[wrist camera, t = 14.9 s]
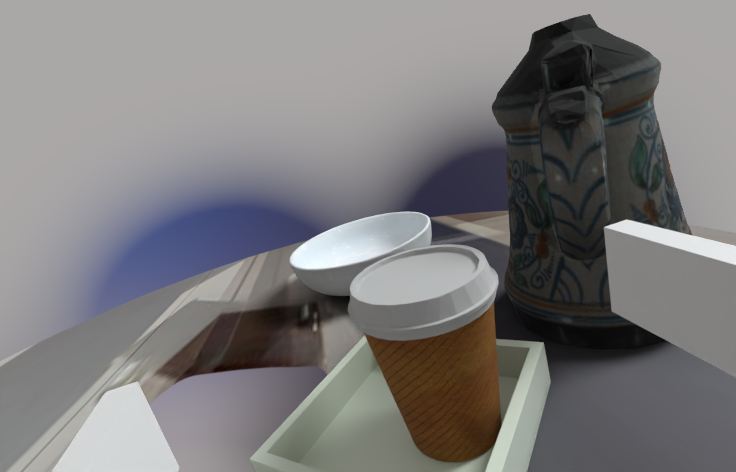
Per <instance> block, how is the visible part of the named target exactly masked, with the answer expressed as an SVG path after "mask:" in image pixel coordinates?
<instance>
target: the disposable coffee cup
mask: <svg viewBox="0 0 736 472" xmlns="http://www.w3.org/2000/svg"><path fill="white" fill-rule="evenodd" d="M498 284H499V283H498V275H497V273H496V272H495V270H494V269H493V268H491V267H490V266H489V264H488V262H487V260H486V258H485V256H484V254H482V253H481V252H480V251H479V250H477V249H474V248H472V247H468V246H463V245H434V246H426V247H420V248H415V249H411V250H407V251H404V252H400V253H397V254H395V255H392V256H390V257H387V258H384V259H382V260H380V261H378V262H376V263H374V264H372V265H370V266H369V267H367V268H365V269H364V270H363V271H362V272H360V273H359V274H358V275H357V276H356V277H355V278H354V279H353V281H352V283H351V286H350V302H349V304H348V313H349V315H350V317H351V319H352V321H353V322H354V323H356V324H357V326H358V327H359V329H360V330H362V331H363V332H364V334H365V337H366V339H367V341H368V343H369V346H370V348H371V350H372V351H373V355H374V356H375V358H376V361H377V363H378V365H379V367H380V369H381V371H382V374H383V377H384V378H385V380H386V382H387V385H388V387H389V389H390V392H391V393H392V395H393V397H394V400H395V402H396V404H397V407H398V409H399V411H400V413H401V415H402V417H403V418H404V419H403V420H404V422H405V424H406V425H407V428H408V430H409V432H410V435H411V437H412V439H413V442H414V444H415V445H416V447H417V448H418V449H419V450H420V451H421V452H422V453H423V454H424V455H426V456H428V457H430V458H432V459H435V460H438V461H442V462H462V461H467V460H471V459H474V458H476V457H478V456H480V455H482V454H484V453H485V452H487V451H488V450H489V449H490V448H492V446H493V445H494V444H495V443H496V440H497V438H498V435H499V432H500V429H501V427H502V422H501V410H500V395H499V377H498V363H497V347H496V331H495V316H494V299H495V296H496V290H497V287H498Z"/></svg>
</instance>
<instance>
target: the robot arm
mask: <svg viewBox="0 0 736 472" xmlns="http://www.w3.org/2000/svg"><path fill="white" fill-rule="evenodd" d="M604 235H605V246H606V256H607V267H608V277H609V288H610V299H611V309H612V312H614V313H616V314H618V315H620V316H621V317H623V318H625V319H627V320H629V321H631V322H633V323H635V324H636V325H638V326H640V327H642V328H644V329H646V330H648V331H650V332H651V333H653V334H655V335H657V336H659V337H661V338H663V339H665V340H666V341H668V342H670V343H672V344H674V345H676V346H678V347H679V348H681V349H683V350H685V351H687V352H689V353H691V354H693V355H694V356H696V357H698V358H700V359H702V360H704V361H706V362H708V363H709V364H711V365H713V366H715V367H717V368H719V369H721V370H723V371H724V372H726V373H728V374H730V375H732V376H734V377H736V246H733V245H729V244H725V243H720V242H716V241H712V240H708V239H704V238H700V237H696V236H692V235H688V234H684V233H680V232H676V231H672V230H668V229H664V228H660V227H655V226H651V225H647V224H643V223H639V222H635V221H631V220H624V221H621V222H618V223H615V224H612V225H609V226H606V227H604ZM178 471H179V466H178V464H177V462H176V460H175V457H174V455H173V454H172V451H171V449H170V447H169V445H168V443H167V441H166V439H165V437H164V435H163V433H162V431H161V429H160V427H159V425H158V422H157V421H156V419H155V416H154V414H153V412H152V410H151V408H150V406H149V404H148V402H147V400H146V398H145V396H144V394H143V392H142V390H141V388H140V385H139V383H138V382H135V383H131V384H128V385H125V386H122V387H119V388H116V389H113V390H110V391H107V392H105V394H104V395H103V397H102V398H101V400H100V401H99V402H98V404H97V405H96V407H95V408H94V410H93V411H92V413H91V414H90V416H89V417H88V419H87V420H86V422H85V423H84V425H83V426H82V428H81V429H80V431H79V432H78V434H77V435H76V437H75V438H74V440H73V441H72V442H71V444H70V445H69V447H68V448H67V450H66V451H65V453H64V454H63V456H62V457H61V459H60V460H59V462H58V463H57V465H56V466H55V468H54V469H53V471H52V472H178Z"/></svg>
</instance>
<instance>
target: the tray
mask: <svg viewBox="0 0 736 472" xmlns="http://www.w3.org/2000/svg"><path fill="white" fill-rule="evenodd" d="M496 347H497V363H498V377H499V395H500V410H501V422H502V427H501V429H500V432H499V435H498V438H497V440H496V443H495V444H494V445H493V446H492V448H490V449H489V450H488V451H487V452H485V453H484V454H482V455H480V456H478V457H476V458H474V459H471V460H467V461H462V462H442V461H438V460H435V459H432V458H430V457H428V456H426V455H424V454H423V453H422V452H421V451H420V450H419V449H418V448H417V447H416V445H415V444H414V442H413V439H412V437H411V435H410V432H409V430H408V428H407V425H406V424H405V422H404V420H403V419H404V418H403V417H402V415H401V413H400V411H399V409H398V407H397V404H396V402H395V400H394V397H393V395H392V393H391V392H390V389H389V387H388V385H387V382H386V380H385V378H384V377H383V374H382V371H381V369H380V367H379V365H378V363H377V361H376V358H375V356H374V355H373V351H372V350H371V348H370V346H369V343H368V341H367V339H366V337H365V336H364V337H363V338H362V339H361V340H360V341H359V342H358V343H357V344H356V345H355V346H354V347H353V348H352V350H351V351H350V352H349V353H348V354H347V355H346V356H345V357H344V358H343V359H342V360H341V361H340V362H339V363H338V365H337V366H336V367H335V368H334V369H333V370H332V371H331V372H330V373H329V374H328V375H327V376H326V377H325V378H324V380H323V381H322V382H321V383H320V384H319V385H318V386H317V387H316V388H315V389H314V390H313V391H312V392H311V394H310V395H309V396H308V397H307V398H306V399H305V400H304V401H303V402H302V403H301V404H300V405H299V406H298V408H297V409H296V410H295V411H294V412H293V413H292V414H291V415H290V416H289V417H288V418H287V419H286V420H285V421H284V423H283V424H282V425H281V426H280V427H279V428H278V429H277V430H276V431H275V432H274V433H273V434H272V435H271V436H270V437H269V439H268V440H267V441H266V442H265V443H264V444H263V445H262V446H261V447H260V448H259V449H258V450H257V451H256V453H255V454H254V455H253V456H252V457H251V458H250V461H251V463H252V466H253V468H254V470H255V472H527V470H528V466H529V462H530V458H531V455H532V451H533V447H534V443H535V439H536V436H537V432H538V428H539V424H540V421H541V417H542V413H543V409H544V406H545V402H546V398H547V394H548V391H549V387H550V383H551V381H550V375H549V369H548V364H547V358H546V353H545V347H544V342H532V341H518V340H504V339H496Z"/></svg>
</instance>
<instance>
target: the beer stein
mask: <svg viewBox="0 0 736 472" xmlns="http://www.w3.org/2000/svg"><path fill="white" fill-rule="evenodd" d="M660 70H661V63H660V62H659V60H658V59H656V58H655V57H654V56H653V55H652V54H650V52H648V51H646V50H645V49H643V48H641V47H639V46H638V45H636V44H633V43H631V42H628V41H626V40H624V39H621V38H618V37H616V36H614V35H612V34H610V33H608V32H606V31H604V30H602V29H601V28H599V27H598V26H597V25H596V23H595V21H594V20H593V18H592V17H591V15H590V14H588V15H583V16H579V17H575V18H571V19H568V20H565V21H562V22H559V23H556V24H553V25H550V26H547V27H545V28H543V29H540V30H538V31H536V32H534V33H533V34H532V39H531V43H530V47H529V51H528V52H527V54H526V55H525V56H524V58H523V59H522V61H521V62H520V63H519V65H518V66H517V67H516V69H515V70H514V71H513V73H512V74H511V76H510V77H509V78H508V80H507V81H506V83H505V84H504V85H503V87H502V88H501V89H500V91H499V92H498V94H497V97H496V100H495V101H494V103H493V105H492V111H493V114H494V116H495V118H496V120H497V122H498V124H499V125H500V126H501V127H502V128H503V129H504V130H505V134H506V140H507V179H508V206H509V225H510V257H509V263H508V267H507V271H506V273H505V280H504V284H505V290H506V293H507V295H508V297H509V299H510V300H511V302H512V304H513V306H514V309H515V313H516V316H517V317H518V318H519V320H520V321H521V322H522V323H523V324H524V326H525V327H526V328H527V329H528V330H530V331H532V332H534V333H536V334H538V335H540V336H542V337H544V338H546V339H548V340H550V341H552V342H556V343H562V344H568V345H574V346H580V347H587V348H593V349H616V348H635V347H640V346H644V345H649V344H653V343H658V342H662V341H666V340H665V339H663V338H661V337H659V336H657V335H655V334H653V333H651V332H650V331H648V330H646V329H644V328H642V327H640V326H638V325H636V324H635V323H633V322H631V321H629V320H627V319H625V318H623V317H621V316H620V315H618V314H616V313H614V312H612V309H611V299H610V288H609V277H608V267H607V256H606V246H605V235H604V227H606V226H609V225H612V224H615V223H618V222H621V221H624V220H631V221H635V222H639V223H643V224H647V225H651V226H655V227H660V228H664V229H668V230H672V231H676V232H680V233H684V234H688V235H692V233H691V230H690V228H689V226H688V224H687V221H686V218H685V215H684V212H683V209H682V206H681V203H680V199H679V196H678V192H677V189H676V186H675V183H674V179H673V176H672V173H671V170H670V164H669V161H668V157H667V153H666V149H665V146H664V142H663V139H662V135H661V131H660V128H659V124H658V121H657V117H656V113H655V110H654V102H653V98H654V97H653V96H654V92H655V89H656V87H657V85H658V83H659V75H660ZM692 236H693V235H692Z"/></svg>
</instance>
